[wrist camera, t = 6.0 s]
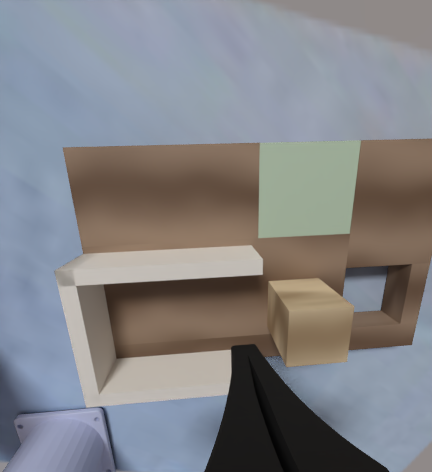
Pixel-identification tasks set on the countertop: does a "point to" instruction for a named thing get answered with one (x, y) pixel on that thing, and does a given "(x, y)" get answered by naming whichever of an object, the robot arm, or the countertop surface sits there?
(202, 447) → the countertop surface
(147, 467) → the countertop surface
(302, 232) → the pad
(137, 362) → the cubby
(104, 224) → the board
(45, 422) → the robot arm
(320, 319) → the block
